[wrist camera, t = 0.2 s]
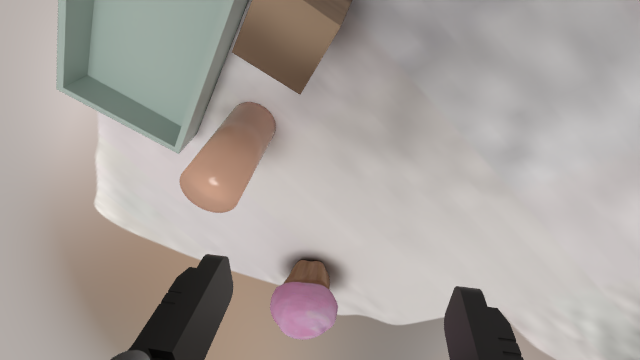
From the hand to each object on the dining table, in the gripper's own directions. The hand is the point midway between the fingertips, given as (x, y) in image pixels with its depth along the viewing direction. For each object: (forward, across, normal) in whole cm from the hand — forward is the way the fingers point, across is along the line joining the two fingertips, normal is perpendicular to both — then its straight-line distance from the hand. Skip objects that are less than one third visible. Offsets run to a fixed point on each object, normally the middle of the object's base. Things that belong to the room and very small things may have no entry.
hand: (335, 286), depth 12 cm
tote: (+22, +18, -5) cm, 29 cm away
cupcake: (+26, +5, +27) cm, 38 cm away
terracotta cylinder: (+23, +11, +4) cm, 26 cm away
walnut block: (+22, +4, -8) cm, 23 cm away
